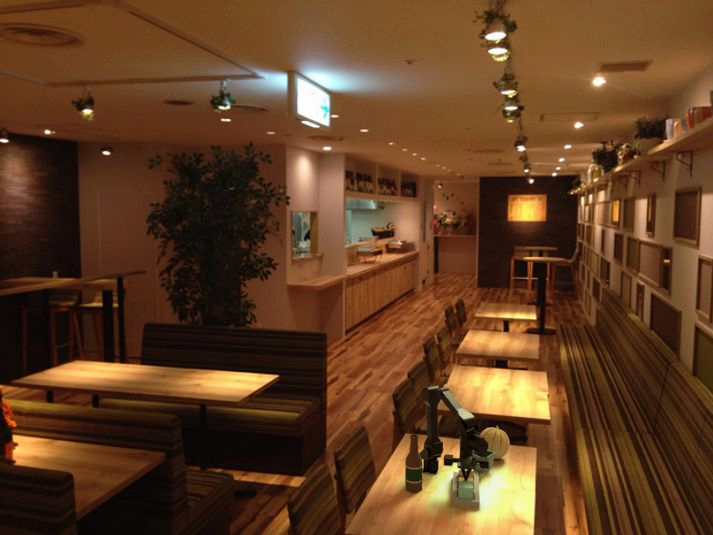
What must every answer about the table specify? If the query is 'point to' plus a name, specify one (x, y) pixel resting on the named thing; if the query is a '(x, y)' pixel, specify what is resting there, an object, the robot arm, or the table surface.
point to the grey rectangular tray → (465, 502)
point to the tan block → (464, 480)
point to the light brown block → (465, 472)
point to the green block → (465, 490)
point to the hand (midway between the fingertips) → (465, 480)
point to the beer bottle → (413, 467)
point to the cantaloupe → (496, 441)
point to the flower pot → (486, 454)
